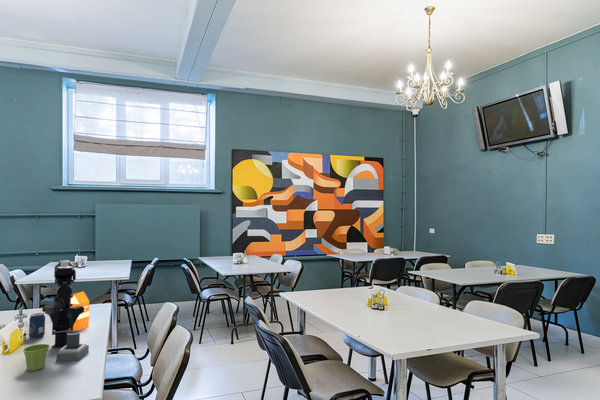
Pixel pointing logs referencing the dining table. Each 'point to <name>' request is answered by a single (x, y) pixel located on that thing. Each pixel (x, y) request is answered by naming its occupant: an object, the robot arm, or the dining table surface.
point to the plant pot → (35, 356)
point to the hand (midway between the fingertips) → (62, 327)
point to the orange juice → (83, 318)
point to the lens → (73, 339)
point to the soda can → (37, 326)
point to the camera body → (72, 353)
